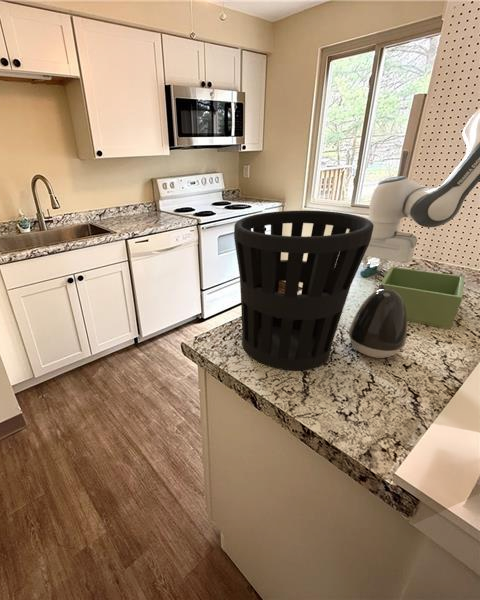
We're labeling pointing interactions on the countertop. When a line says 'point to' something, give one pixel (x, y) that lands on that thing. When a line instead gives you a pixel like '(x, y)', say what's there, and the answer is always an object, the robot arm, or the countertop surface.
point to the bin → (427, 294)
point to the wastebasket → (296, 283)
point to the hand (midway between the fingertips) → (371, 269)
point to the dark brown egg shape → (380, 324)
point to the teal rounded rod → (368, 271)
